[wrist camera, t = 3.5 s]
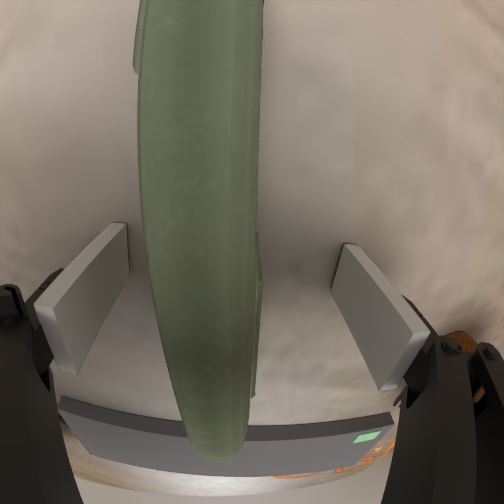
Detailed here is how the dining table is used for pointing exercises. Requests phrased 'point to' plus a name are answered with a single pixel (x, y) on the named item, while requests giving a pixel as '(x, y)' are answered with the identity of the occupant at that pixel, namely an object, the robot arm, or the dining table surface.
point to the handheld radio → (203, 205)
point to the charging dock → (243, 463)
